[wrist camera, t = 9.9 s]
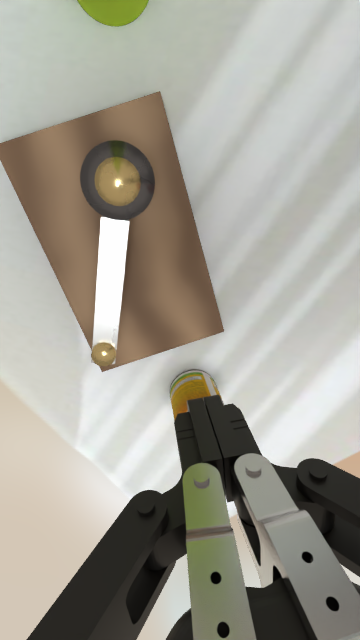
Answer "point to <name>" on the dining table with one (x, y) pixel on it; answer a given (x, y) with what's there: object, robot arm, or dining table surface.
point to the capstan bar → (113, 229)
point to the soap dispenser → (114, 10)
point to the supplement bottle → (191, 389)
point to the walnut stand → (143, 234)
